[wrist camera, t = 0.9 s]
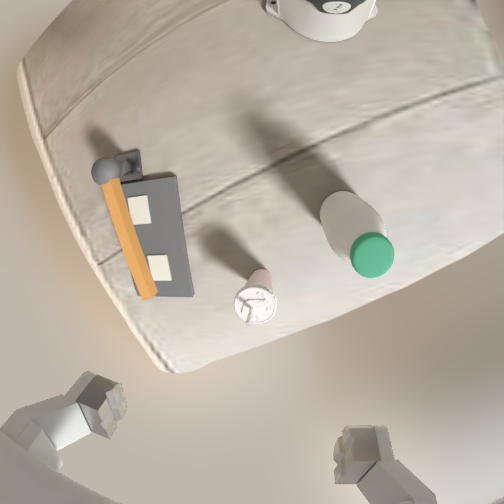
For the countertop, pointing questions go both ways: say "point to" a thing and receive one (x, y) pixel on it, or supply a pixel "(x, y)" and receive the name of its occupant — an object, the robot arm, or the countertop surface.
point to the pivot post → (130, 166)
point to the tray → (161, 234)
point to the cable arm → (124, 223)
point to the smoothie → (256, 298)
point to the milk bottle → (356, 233)
